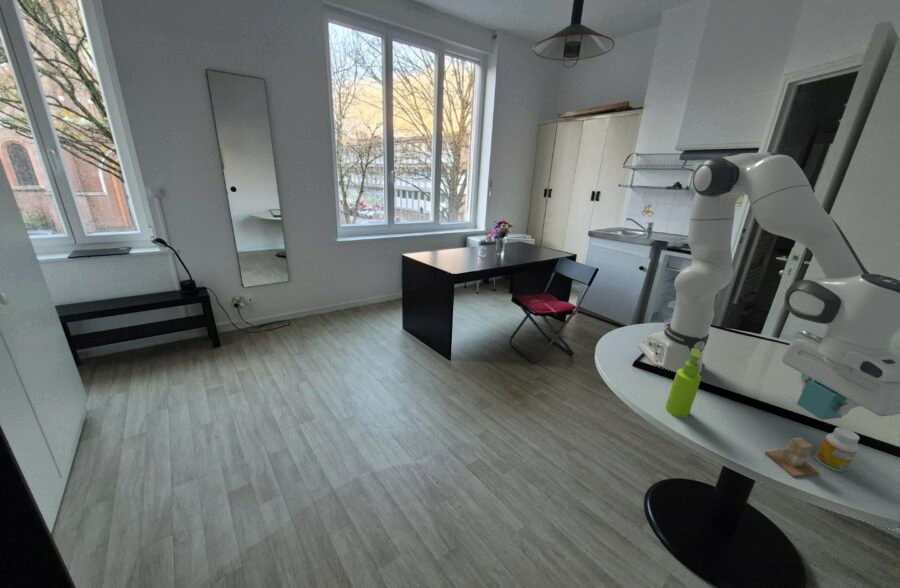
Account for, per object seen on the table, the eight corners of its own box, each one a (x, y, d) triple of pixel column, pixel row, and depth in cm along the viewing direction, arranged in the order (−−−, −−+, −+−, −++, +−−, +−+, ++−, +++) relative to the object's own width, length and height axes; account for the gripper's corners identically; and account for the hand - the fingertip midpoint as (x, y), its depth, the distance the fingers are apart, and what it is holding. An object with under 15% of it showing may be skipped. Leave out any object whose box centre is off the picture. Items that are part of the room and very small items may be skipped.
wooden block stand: (764, 453, 87) (774, 432, 85) (788, 450, 88) (799, 430, 85) (792, 477, 81) (804, 455, 78) (818, 474, 82) (831, 452, 79)
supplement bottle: (813, 450, 88) (829, 421, 84) (843, 461, 85) (861, 431, 81) (816, 464, 84) (833, 434, 81) (847, 476, 81) (866, 445, 77)
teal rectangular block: (796, 403, 80) (807, 380, 78) (815, 402, 81) (827, 379, 78) (821, 419, 75) (834, 395, 73) (841, 417, 76) (855, 393, 73)
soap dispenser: (689, 406, 103) (708, 350, 96) (688, 420, 98) (708, 362, 90) (666, 399, 106) (683, 344, 99) (664, 412, 101) (682, 355, 93)
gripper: (786, 328, 81) (765, 376, 86) (901, 380, 62) (865, 437, 68) (809, 326, 82) (787, 374, 87) (929, 378, 63) (892, 435, 68)
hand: (822, 402), depth 77 cm, fingers closed on teal rectangular block, 5 cm apart
